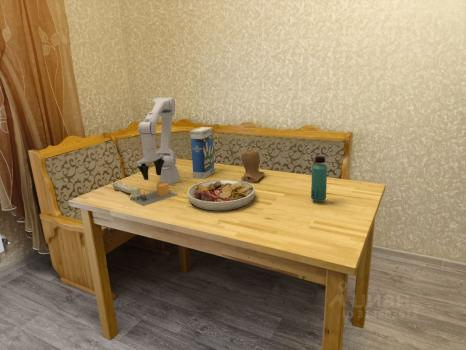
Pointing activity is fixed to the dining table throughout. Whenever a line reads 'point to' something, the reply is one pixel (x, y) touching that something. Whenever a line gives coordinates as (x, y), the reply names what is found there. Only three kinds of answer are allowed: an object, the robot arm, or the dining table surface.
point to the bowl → (221, 194)
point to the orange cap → (162, 189)
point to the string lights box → (202, 152)
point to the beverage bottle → (319, 180)
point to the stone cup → (251, 165)
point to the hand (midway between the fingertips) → (152, 177)
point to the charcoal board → (152, 198)
